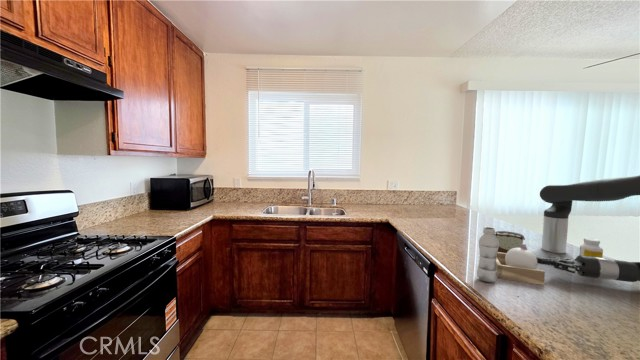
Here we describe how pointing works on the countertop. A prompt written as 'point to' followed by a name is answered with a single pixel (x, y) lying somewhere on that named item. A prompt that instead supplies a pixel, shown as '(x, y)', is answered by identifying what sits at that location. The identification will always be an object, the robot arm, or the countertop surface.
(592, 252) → the supplement bottle
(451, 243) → the countertop surface
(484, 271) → the plastic bottle
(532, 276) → the bay
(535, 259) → the ornament
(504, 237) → the food container
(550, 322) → the countertop surface
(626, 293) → the countertop surface
